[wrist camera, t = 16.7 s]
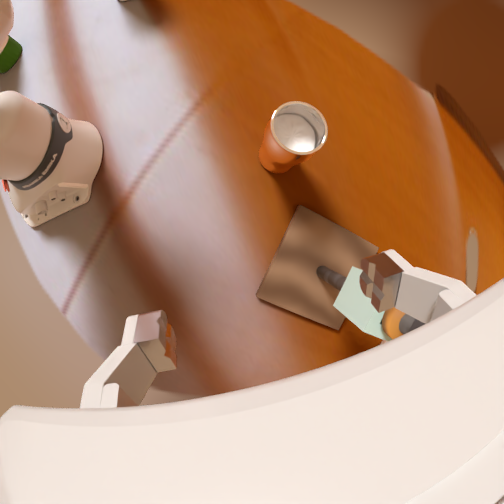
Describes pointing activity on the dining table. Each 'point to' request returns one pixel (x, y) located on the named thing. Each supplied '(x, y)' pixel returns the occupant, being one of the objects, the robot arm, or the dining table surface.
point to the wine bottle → (9, 54)
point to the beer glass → (292, 136)
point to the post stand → (321, 272)
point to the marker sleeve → (359, 306)
